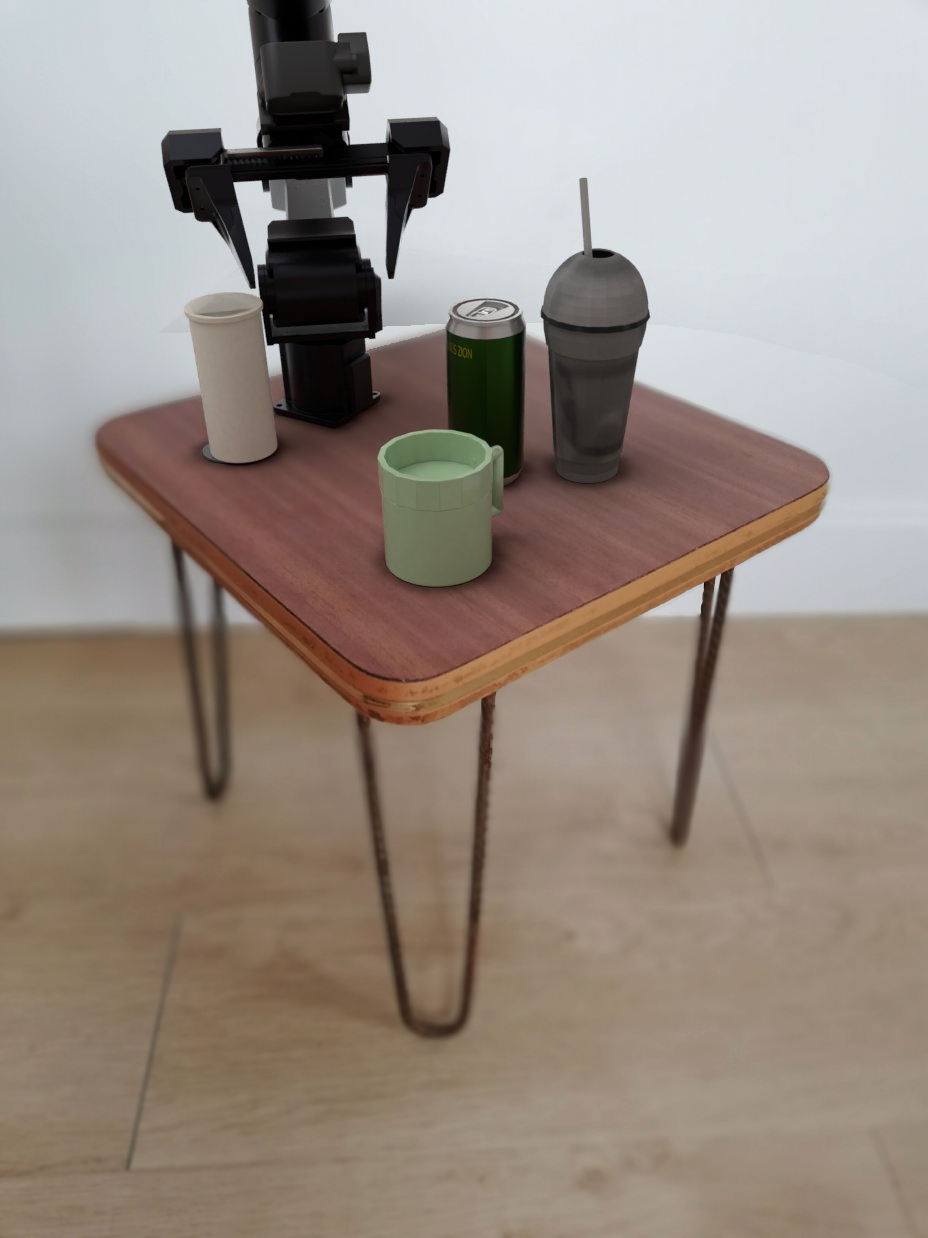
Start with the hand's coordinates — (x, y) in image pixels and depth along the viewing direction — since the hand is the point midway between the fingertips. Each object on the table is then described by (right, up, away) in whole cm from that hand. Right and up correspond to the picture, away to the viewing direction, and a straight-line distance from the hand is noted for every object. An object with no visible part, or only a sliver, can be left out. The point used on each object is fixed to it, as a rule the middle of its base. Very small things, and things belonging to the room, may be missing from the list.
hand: (322, 280), depth 72 cm
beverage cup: (+18, -12, +7) cm, 23 cm away
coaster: (-8, -10, +10) cm, 16 cm away
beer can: (+11, -12, +7) cm, 18 cm away
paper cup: (-7, -10, +10) cm, 16 cm away
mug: (+8, -19, -3) cm, 20 cm away
